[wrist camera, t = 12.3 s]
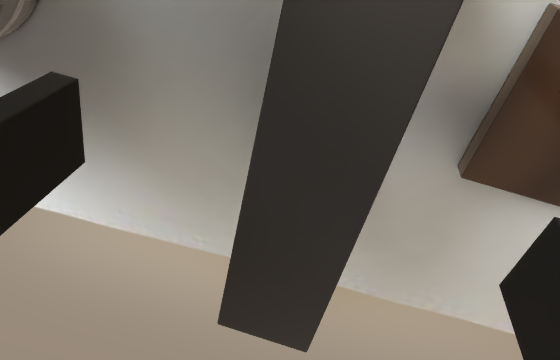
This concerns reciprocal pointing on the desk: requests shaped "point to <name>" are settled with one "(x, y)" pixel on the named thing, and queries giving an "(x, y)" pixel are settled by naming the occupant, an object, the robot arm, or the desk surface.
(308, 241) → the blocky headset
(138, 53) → the desk surface
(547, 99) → the stand
